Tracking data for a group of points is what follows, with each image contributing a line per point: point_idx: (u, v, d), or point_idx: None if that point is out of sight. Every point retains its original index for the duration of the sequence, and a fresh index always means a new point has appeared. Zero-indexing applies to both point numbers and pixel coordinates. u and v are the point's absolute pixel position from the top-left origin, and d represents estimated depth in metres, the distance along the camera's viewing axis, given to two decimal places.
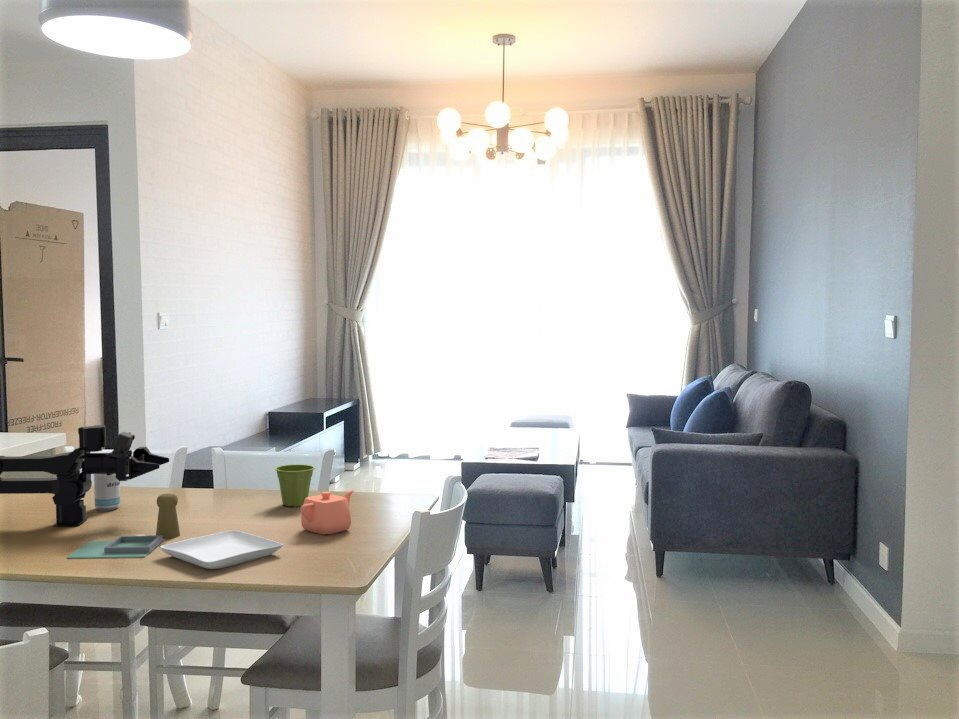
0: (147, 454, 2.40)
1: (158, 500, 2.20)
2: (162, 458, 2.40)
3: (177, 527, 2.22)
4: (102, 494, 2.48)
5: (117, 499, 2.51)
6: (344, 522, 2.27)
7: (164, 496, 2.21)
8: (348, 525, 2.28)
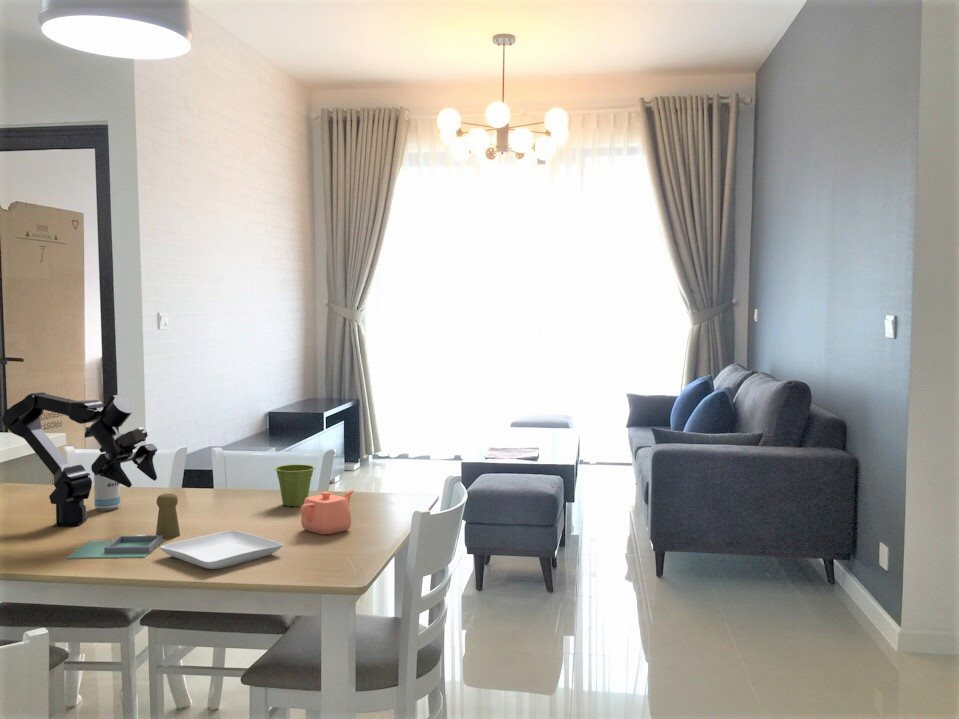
0: (147, 458, 2.30)
1: (158, 500, 2.20)
2: (152, 473, 2.29)
3: (177, 527, 2.22)
4: (102, 494, 2.48)
5: (117, 499, 2.51)
6: (344, 522, 2.27)
7: (164, 496, 2.21)
8: (348, 525, 2.28)
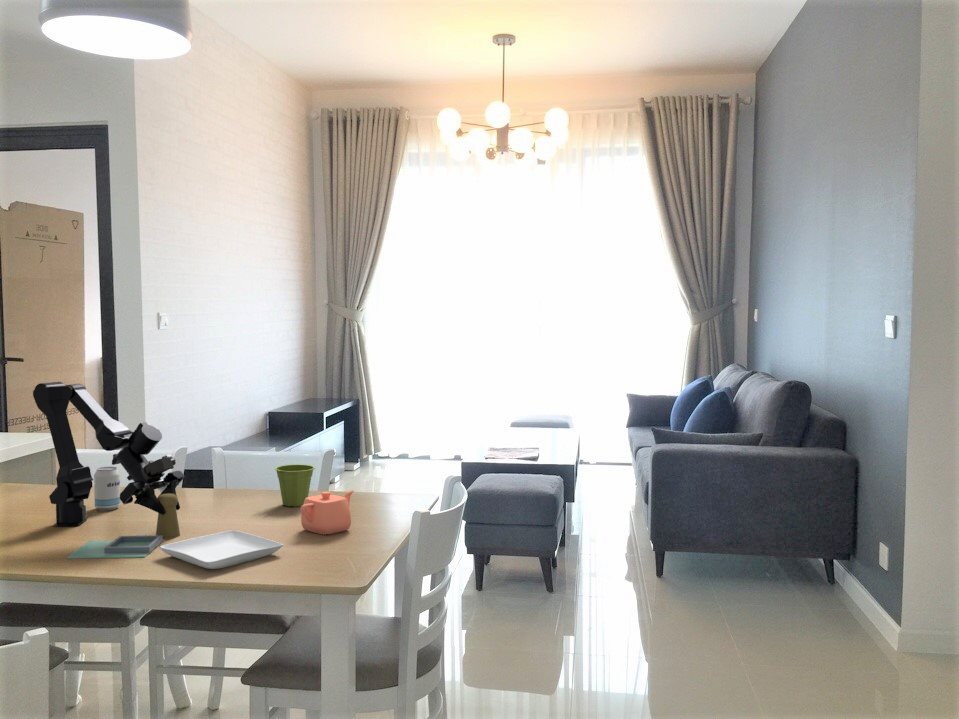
0: (169, 487, 2.26)
1: None
2: None
3: (177, 527, 2.22)
4: (102, 494, 2.48)
5: (117, 499, 2.51)
6: (344, 522, 2.27)
7: (164, 496, 2.21)
8: (348, 525, 2.28)
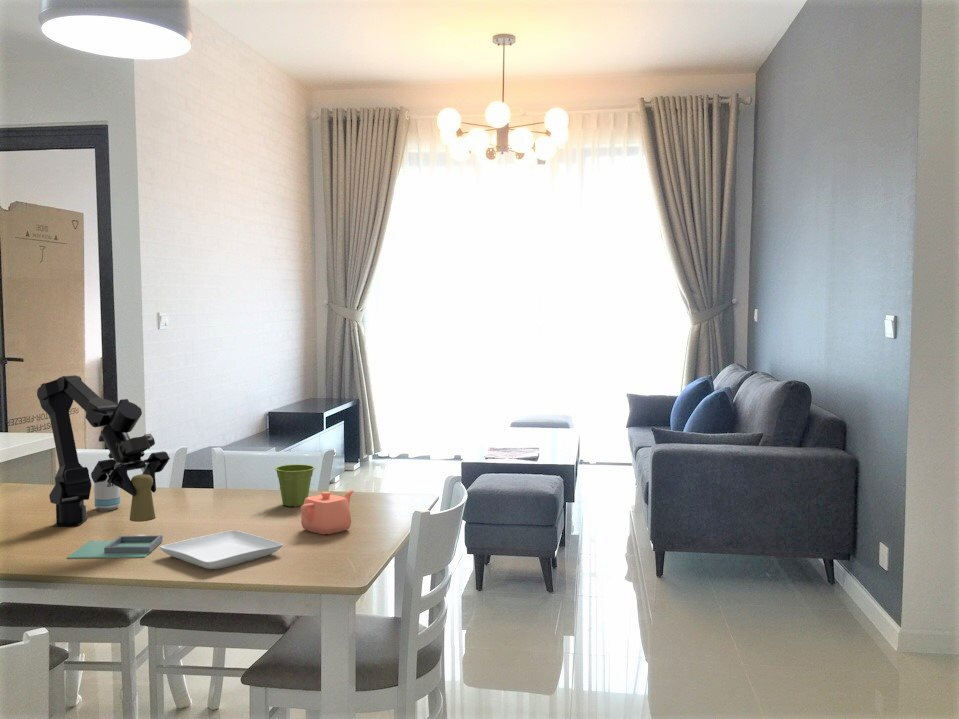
0: (148, 468, 2.16)
1: (131, 481, 2.11)
2: None
3: (150, 510, 2.12)
4: (102, 494, 2.48)
5: (117, 499, 2.51)
6: (344, 522, 2.27)
7: (137, 477, 2.11)
8: (348, 525, 2.28)
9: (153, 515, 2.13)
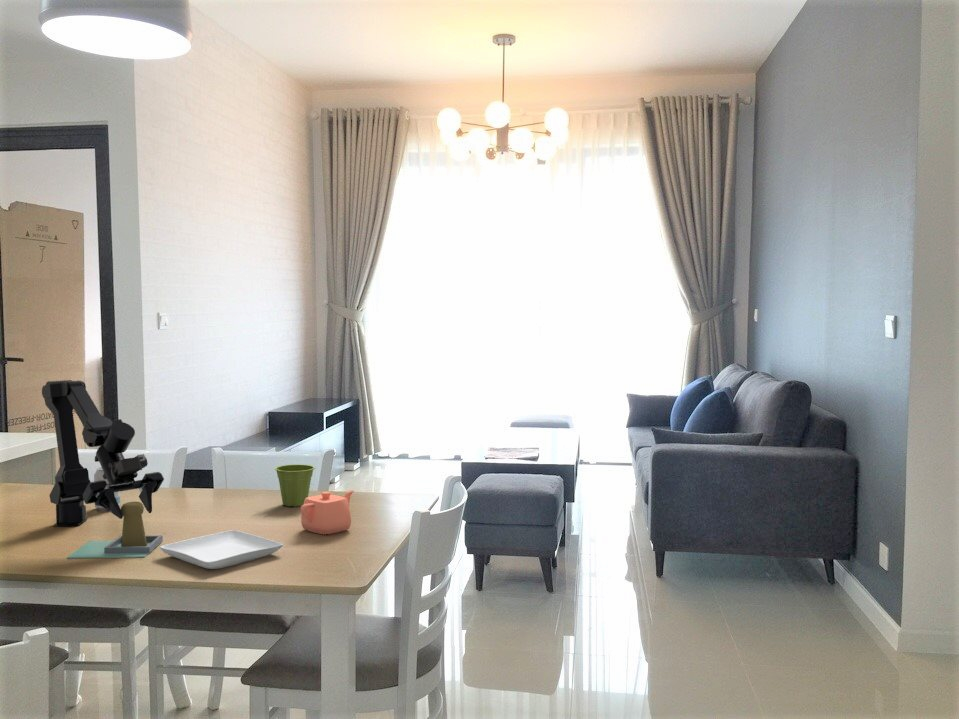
0: (145, 488, 2.15)
1: (121, 508, 2.10)
2: (148, 505, 2.13)
3: (141, 538, 2.10)
4: None
5: (117, 499, 2.51)
6: (344, 522, 2.27)
7: (126, 504, 2.10)
8: (348, 525, 2.28)
9: (144, 543, 2.11)
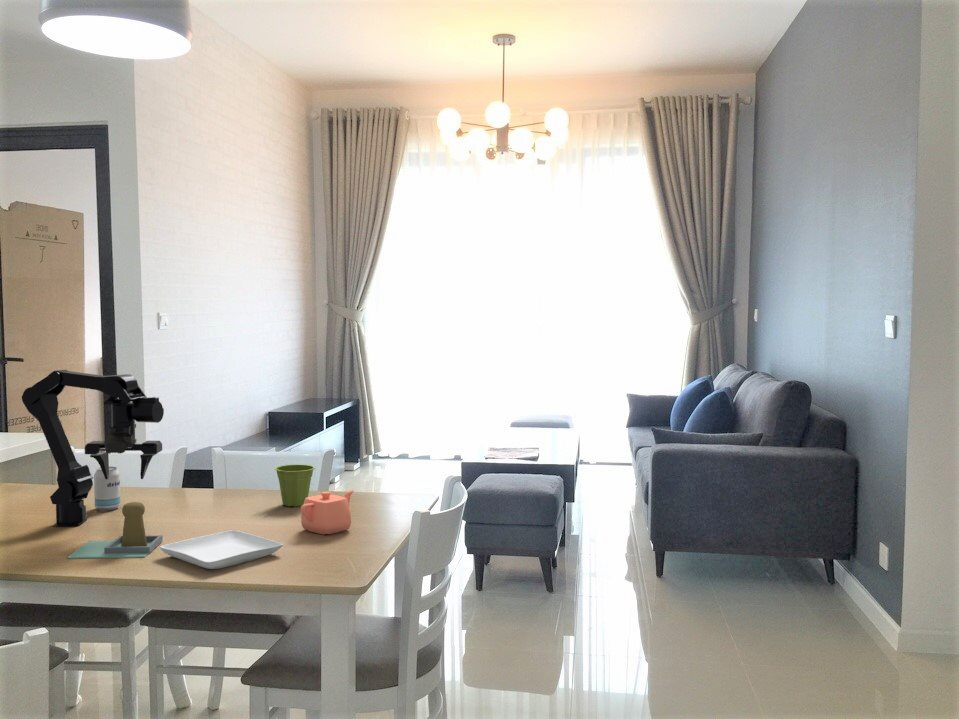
0: None
1: (122, 508, 2.10)
2: None
3: (141, 538, 2.10)
4: (102, 494, 2.48)
5: (117, 499, 2.51)
6: (344, 522, 2.27)
7: (128, 505, 2.09)
8: (348, 525, 2.28)
9: (144, 543, 2.11)
